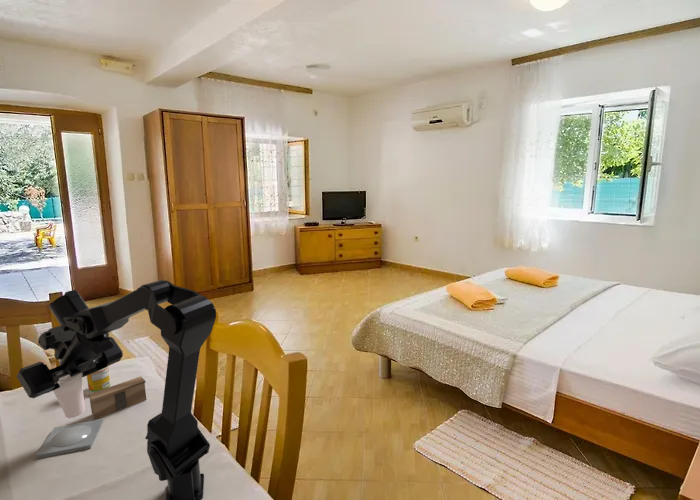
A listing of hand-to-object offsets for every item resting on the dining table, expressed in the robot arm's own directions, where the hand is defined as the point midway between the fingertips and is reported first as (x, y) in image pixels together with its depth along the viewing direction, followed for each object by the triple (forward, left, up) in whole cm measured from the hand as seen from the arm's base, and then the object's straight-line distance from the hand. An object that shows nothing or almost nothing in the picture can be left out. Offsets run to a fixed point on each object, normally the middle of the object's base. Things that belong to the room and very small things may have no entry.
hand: (63, 383), depth 89 cm
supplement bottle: (+22, 0, -14) cm, 26 cm away
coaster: (-1, 0, -13) cm, 13 cm away
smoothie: (0, -2, -8) cm, 8 cm away
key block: (+10, -8, -13) cm, 18 cm away
